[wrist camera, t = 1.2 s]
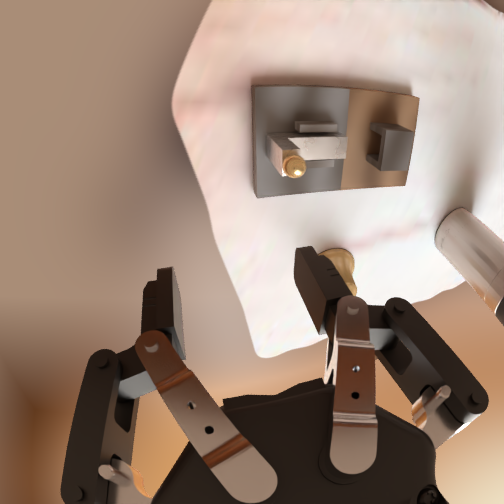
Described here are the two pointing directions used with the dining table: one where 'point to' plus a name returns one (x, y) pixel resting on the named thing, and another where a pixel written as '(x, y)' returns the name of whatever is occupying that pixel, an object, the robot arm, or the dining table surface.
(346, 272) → the hand bell
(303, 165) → the bolt
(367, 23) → the dining table surface
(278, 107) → the lock plate
